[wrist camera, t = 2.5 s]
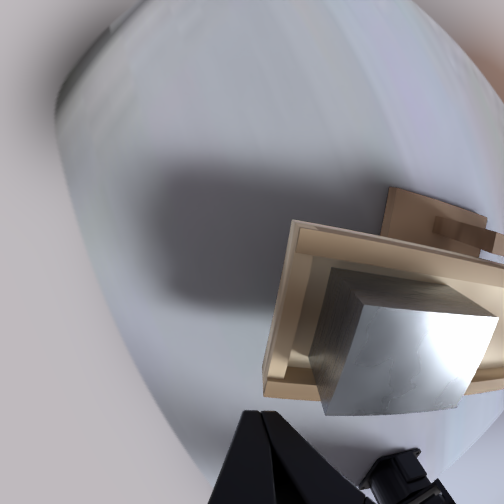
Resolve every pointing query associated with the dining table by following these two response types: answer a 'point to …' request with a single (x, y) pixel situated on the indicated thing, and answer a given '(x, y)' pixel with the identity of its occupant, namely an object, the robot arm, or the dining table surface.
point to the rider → (395, 345)
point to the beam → (376, 262)
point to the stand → (437, 225)
